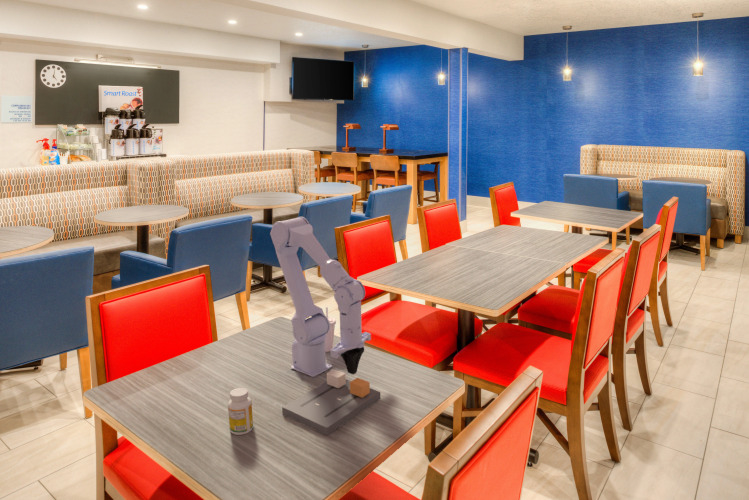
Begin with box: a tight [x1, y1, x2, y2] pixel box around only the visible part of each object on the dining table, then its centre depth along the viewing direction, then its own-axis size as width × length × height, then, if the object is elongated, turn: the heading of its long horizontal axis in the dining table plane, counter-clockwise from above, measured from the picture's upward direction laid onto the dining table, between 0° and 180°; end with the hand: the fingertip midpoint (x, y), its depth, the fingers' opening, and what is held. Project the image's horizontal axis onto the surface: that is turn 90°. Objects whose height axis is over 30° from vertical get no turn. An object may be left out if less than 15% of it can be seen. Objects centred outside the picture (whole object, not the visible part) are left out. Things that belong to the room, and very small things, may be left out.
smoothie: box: [325, 306, 337, 353], centre depth 163 cm, size 6×6×14 cm
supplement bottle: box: [227, 387, 254, 436], centre depth 122 cm, size 5×5×10 cm
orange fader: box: [350, 377, 370, 398], centre depth 133 cm, size 4×3×3 cm
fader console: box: [281, 378, 381, 436], centre depth 132 cm, size 15×20×2 cm
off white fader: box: [326, 369, 347, 388], centre depth 138 cm, size 4×3×3 cm
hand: (352, 372), depth 143 cm, fingers closed
